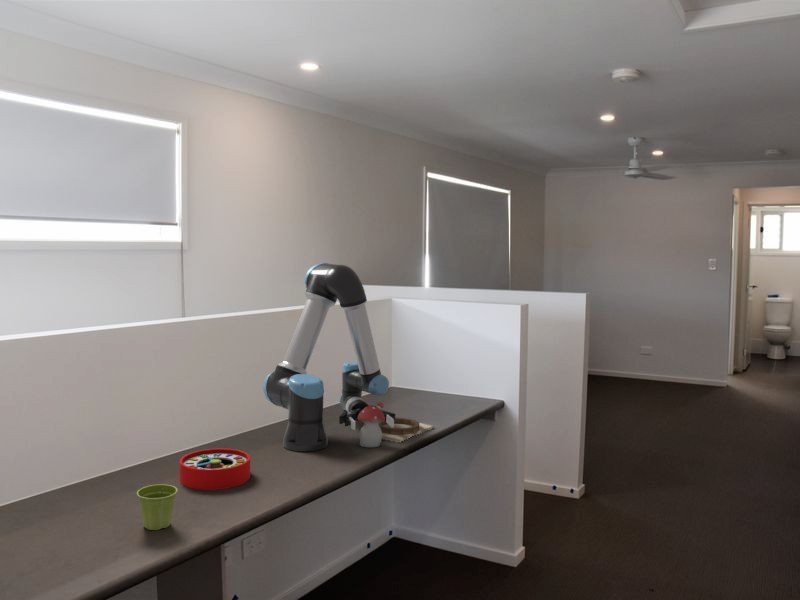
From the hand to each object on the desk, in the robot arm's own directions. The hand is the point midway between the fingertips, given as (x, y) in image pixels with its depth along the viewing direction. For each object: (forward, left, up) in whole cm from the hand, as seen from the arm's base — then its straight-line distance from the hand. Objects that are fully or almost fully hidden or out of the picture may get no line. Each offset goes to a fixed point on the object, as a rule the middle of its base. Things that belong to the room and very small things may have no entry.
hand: (373, 424), depth 238 cm
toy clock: (-51, -23, -9) cm, 57 cm away
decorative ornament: (-1, +2, -8) cm, 9 cm away
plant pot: (-64, -56, -8) cm, 85 cm away
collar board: (+12, +18, -8) cm, 24 cm away
